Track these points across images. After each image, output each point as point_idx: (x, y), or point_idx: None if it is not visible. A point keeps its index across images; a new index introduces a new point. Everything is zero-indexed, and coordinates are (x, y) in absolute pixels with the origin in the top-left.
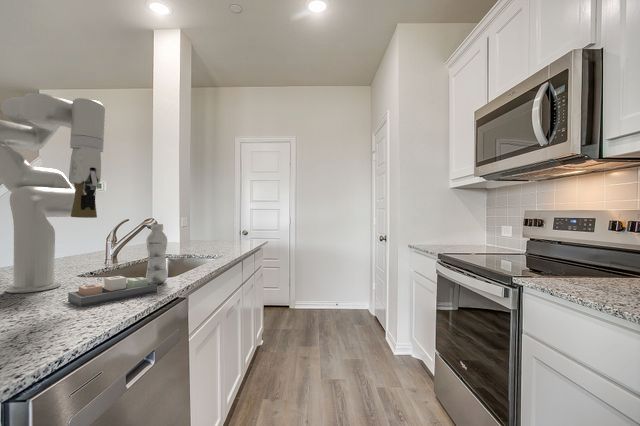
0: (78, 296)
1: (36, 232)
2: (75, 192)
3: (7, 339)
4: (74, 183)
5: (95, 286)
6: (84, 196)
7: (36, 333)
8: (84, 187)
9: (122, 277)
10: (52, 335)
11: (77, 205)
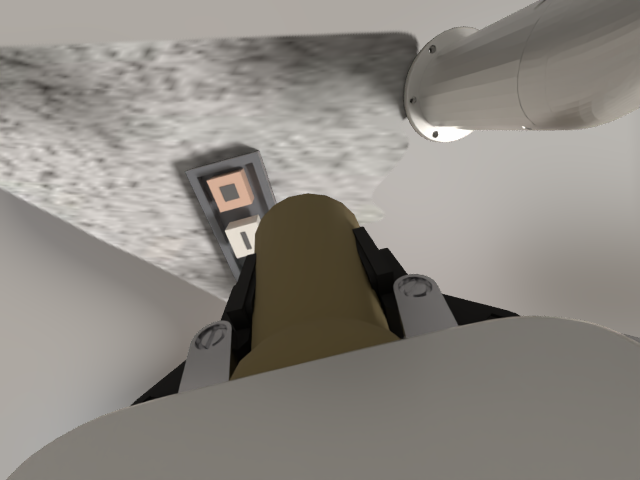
0: (205, 168)
1: (545, 57)
2: (431, 287)
3: (9, 49)
4: (303, 357)
5: (222, 201)
6: (234, 320)
7: (33, 95)
8: (178, 392)
9: (241, 252)
10: (10, 119)
11: (266, 247)
